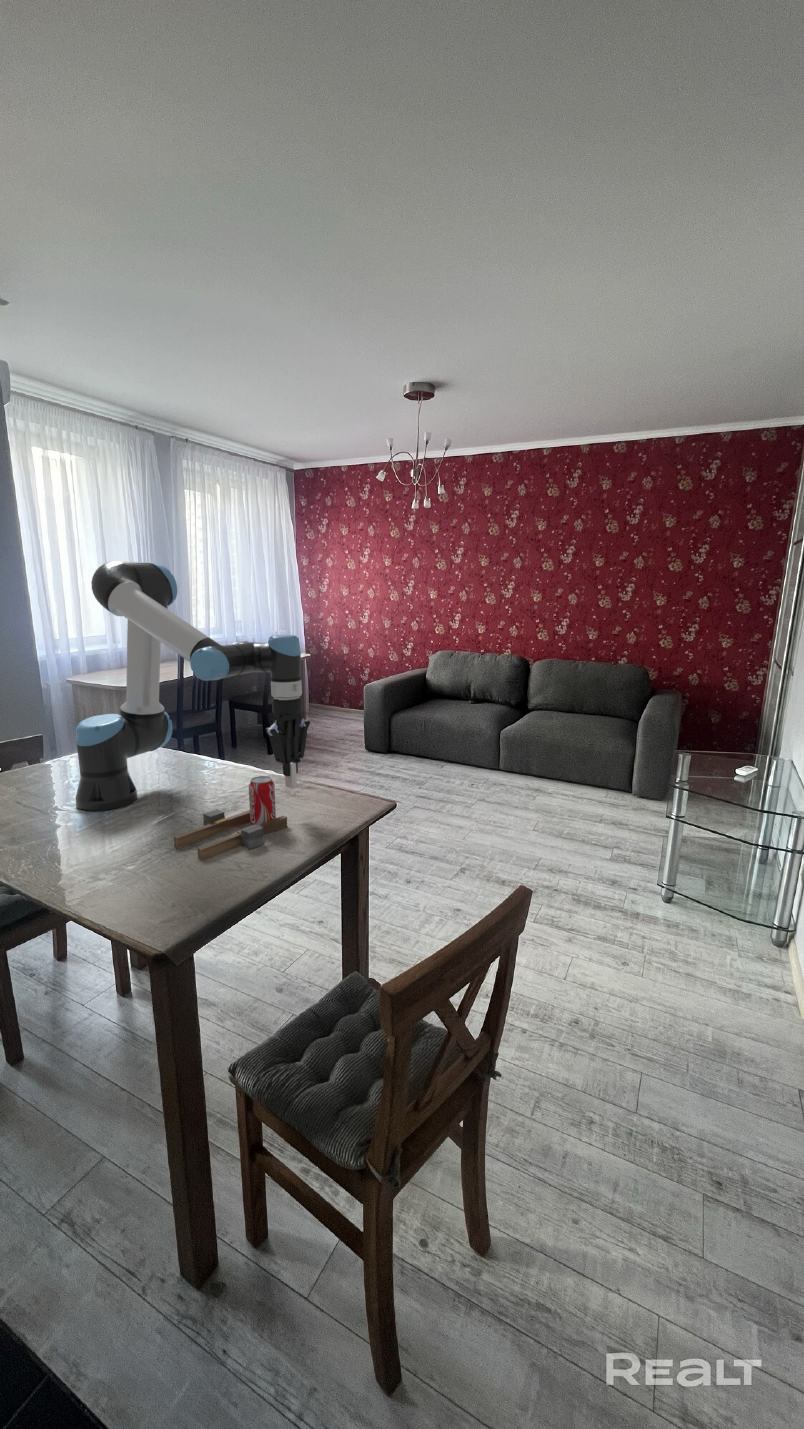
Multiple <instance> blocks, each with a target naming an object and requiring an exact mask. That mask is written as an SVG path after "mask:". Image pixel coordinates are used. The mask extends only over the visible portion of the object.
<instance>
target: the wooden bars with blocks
mask: <svg viewBox="0 0 804 1429" xmlns="http://www.w3.org/2000/svg"><path fill="white" fill-rule="evenodd" d="M202 818H203V819H202V820H203V826H200V827H195V828H194V829H191V830H189V831H186V832H182V833H180V834H179V833H178V834H177V835H174V836H173V845H174V846H173V847H174V848H176V849H180V848H183V847H186V846H188V845H191V844H193V843H196V842H199V841H202V840H205V839H207V838H210V837H213V836H216V835H218V834H222V833H224V832H227V831H229V830H232V829H235V828H237V827H241V826H243V825H246V824H249V823H250V809H248V810H246V811H243V812H239V813H237V814H234V815H231V816H228V817H225V811H223V810H220V809H218V808H217V809H213V810H210V811H207V812H205V813H202ZM287 827H288V817H287V816H284V815H281V816H279V817H276V819H273V820H270V821H268V822H265V823H262V824H260V825H249V826H247V827H244V828H242V829H240V830H238V831H237V832H236V833H233V834H230V835H228V836H226V837H223V838H220V839H218V840H215V841H213V842H209V843H207V844H205V845H202V846H199V847H197V849H196V850H197V859H198V860H200V861H205V860H207V859H209V858H212V857H214V856H217V855H220V854H222V853H225V852H227V851H230V850H232V849H235V848H237V847H240V846H241V847H243V848H245V849H248V850H253V849H254V848H257V847H259V846H262V845H265V844H264V843H265V838H264V837H265V836H267V835H269V834H272V833H275V832H277V831H279V830H283V829H285V828H287Z"/></svg>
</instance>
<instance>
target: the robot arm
mask: <svg viewBox="0 0 804 1429" xmlns="http://www.w3.org/2000/svg"><path fill="white" fill-rule="evenodd" d="M90 583H91V591H92V594H93V595H94V598H95V600H96V601H97V602H98V604H100V606H102V607H103V608H104V609H105V610H106V611H108V612H110V613H111V614H113V615H114V616H115V617H124V618H125V619H126V620H127V624H126V626H127V627H126V628H127V630H126V632H127V633H126V634H127V635H126V636H127V637H126V639H127V640H126V642H127V643H126V692H125V693H126V696H125V697H126V700H125V702H124V703H123V704H121V705H120V708H119V712H120V714H117V713H105V714H104V713H103V714H101V715H99V714H98V715H94V716H90V717H87V718H85V719H83V720H81V721H80V722H78V724H77V725H76V728H75V740H74V741H75V743H76V748H77V749H76V750H77V758H78V767H79V768H78V769H79V775H80V778H79V782H78V787H77V790H76V795H75V805H76V807H78V808H77V809H78V810H82V809H83V810H82V811H87V812H88V811H91V812H100V811H108V810H115V809H118V808H123V807H125V806H127V805H131V804H132V803H134V802H135V801H136V800H137V798H138V790H137V788H136V785H135V784H134V782H133V779H132V777H131V775H130V773H129V770H128V759H129V758H132V757H136V756H139V755H142V754H145V753H146V754H147V753H149V752H154V751H156V750H158V749H159V748H162V747H164V746H165V745H167V744H168V742H169V741H170V739H171V737H172V735H173V723H172V719H170V715H169V714H168V712H167V711H165V706H163V704H162V703H161V702H160V677H161V676H160V675H161V647H162V646H161V645H162V644H163V645H164V646H165V647H168V649H170V650H171V651H173V652H175V653H176V654H177V655H178V656H180V657H182V658H183V659H185V660H186V661H187V662H189V665H190V669H191V671H192V672H193V673H194V676H195V677H196V678H198V679H200V680H201V681H219V680H221V679H222V680H223V679H225V678H230V677H234V676H239V675H241V676H242V675H245V674H250V673H270V690H271V691H270V692H271V693H270V694H271V695H270V696H271V697H273V698H272V699H271V707H272V708H271V710H272V713H273V720H272V723H273V724H271V726H270V727H266V728H265V733H266V734H267V735H268V737H269V740H270V744H271V748H272V751H273V752H272V753H273V755H274V759H275V762H277V763H280V764H282V775H283V776H284V781H285V782H284V783H285V787H286V788H290V789H292V790H293V789H295V788H298V783H297V774H298V772H299V765H298V764H299V763H301V761H302V760H301V759H303V758H304V757H305V750H306V744H307V736H308V730H309V726H310V725H311V722H310V720H307V719H305V718H304V717H303V714H302V712H303V709H304V705H303V698H302V697H301V696H302V694H303V688H302V671H301V670H302V668H301V667H302V666H301V662H302V660H301V657H302V656H301V655H302V652H301V646H300V645H301V644H300V638H299V637H298V636H297V635H295V634H275V635H270V636H269V637H268V642H256V641H253V642H252V641H248V640H244V641H235V642H233V643H231V644H225V645H222V644H220V643H218V642H217V641H215V640H214V639H212V638H211V637H209V636H208V635H207V634H205V633H203V632H202V631H200V630H199V629H197V628H196V627H194V626H193V625H191V624H190V623H188V622H187V621H185V620H184V619H182V618H181V617H180V616H178V615H177V614H176V613H174V612H172V611H171V610H170V609H168V607H169V606H171V605H172V604H173V603H174V602H175V601H176V599H177V596H178V585H177V581H176V578H175V576H174V574H172V573H171V571H170V570H169V569H168V568H167V567H166V566H165V565H162V564H160V563H155V562H148V561H120V560H113V561H108V562H106V563H103V564H101V565H100V566H99V567H98V568H97V569H95V571H94V573H93V576H92V578H91V582H90Z"/></svg>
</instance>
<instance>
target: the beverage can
mask: <svg viewBox="0 0 804 1429" xmlns="http://www.w3.org/2000/svg"><path fill="white" fill-rule="evenodd" d="M275 789H276V787H275V783H274V780H273V778H272V777H271V776H269V775H268V776H267V775H260V776H255V777H252V778H251V779H250V782H249V784H248V801H249V802H248V803H249V810H250V822H249V823H250V826H252V825H260V824H262V823H265V822H268V821H270V820H273V819H276V818H277V813H276V811H277V810H276V790H275Z"/></svg>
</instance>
